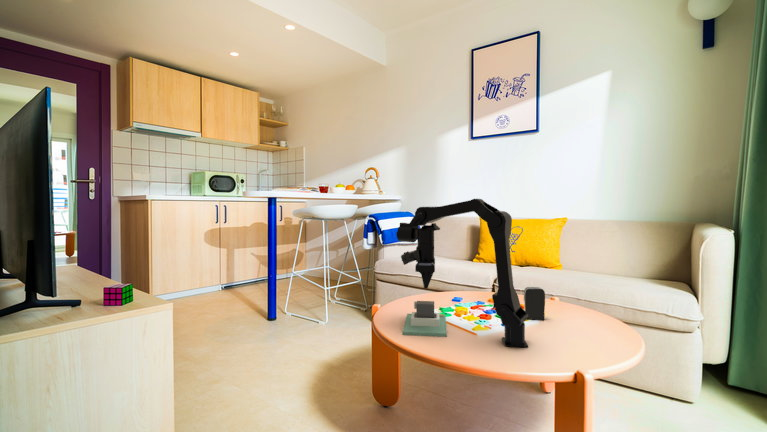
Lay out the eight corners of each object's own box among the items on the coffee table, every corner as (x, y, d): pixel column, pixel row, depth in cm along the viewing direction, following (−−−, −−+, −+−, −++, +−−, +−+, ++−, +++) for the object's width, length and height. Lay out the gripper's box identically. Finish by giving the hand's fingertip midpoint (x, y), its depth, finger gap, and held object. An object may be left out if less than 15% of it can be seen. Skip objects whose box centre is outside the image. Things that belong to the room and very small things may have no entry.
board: (446, 336, 117) (446, 325, 117) (402, 334, 119) (402, 324, 119) (445, 317, 137) (445, 308, 137) (407, 316, 139) (407, 306, 139)
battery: (542, 317, 136) (542, 286, 136) (545, 320, 133) (545, 288, 132) (522, 316, 138) (522, 285, 137) (524, 319, 134) (525, 288, 133)
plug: (434, 324, 125) (434, 304, 125) (414, 324, 126) (414, 303, 126) (434, 321, 129) (434, 301, 129) (414, 320, 130) (414, 300, 130)
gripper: (404, 240, 137) (404, 282, 138) (399, 246, 119) (399, 294, 119) (434, 240, 136) (434, 282, 136) (434, 246, 117) (434, 295, 118)
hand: (425, 288), depth 128 cm, fingers closed
